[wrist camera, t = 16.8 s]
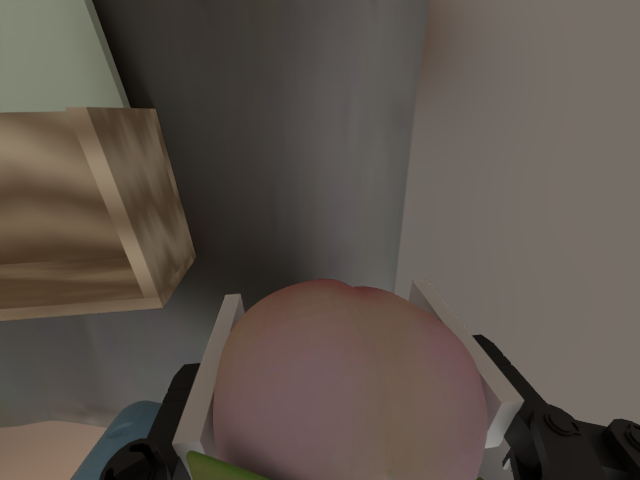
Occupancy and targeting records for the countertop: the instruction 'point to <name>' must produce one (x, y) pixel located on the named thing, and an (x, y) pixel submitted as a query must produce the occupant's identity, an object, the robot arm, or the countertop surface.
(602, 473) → the robot arm
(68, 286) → the box
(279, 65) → the countertop surface
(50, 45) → the pale green panel
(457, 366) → the decorative fruit
